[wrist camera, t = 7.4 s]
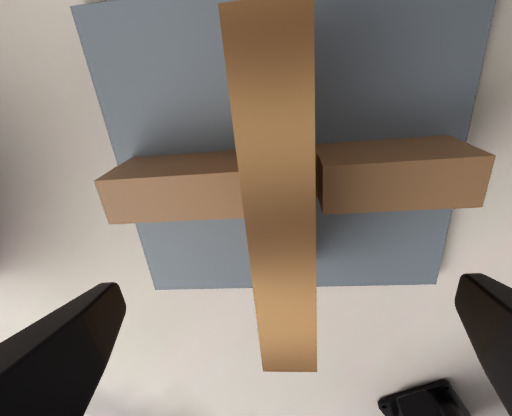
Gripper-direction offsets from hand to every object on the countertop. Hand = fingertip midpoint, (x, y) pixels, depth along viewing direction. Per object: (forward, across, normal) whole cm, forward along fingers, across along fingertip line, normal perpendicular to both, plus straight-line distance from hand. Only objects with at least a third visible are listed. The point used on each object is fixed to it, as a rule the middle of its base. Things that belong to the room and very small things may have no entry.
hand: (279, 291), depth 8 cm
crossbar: (+11, 0, 0) cm, 11 cm away
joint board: (+12, 0, 0) cm, 12 cm away
